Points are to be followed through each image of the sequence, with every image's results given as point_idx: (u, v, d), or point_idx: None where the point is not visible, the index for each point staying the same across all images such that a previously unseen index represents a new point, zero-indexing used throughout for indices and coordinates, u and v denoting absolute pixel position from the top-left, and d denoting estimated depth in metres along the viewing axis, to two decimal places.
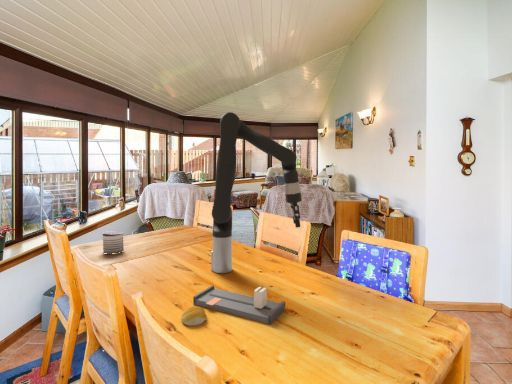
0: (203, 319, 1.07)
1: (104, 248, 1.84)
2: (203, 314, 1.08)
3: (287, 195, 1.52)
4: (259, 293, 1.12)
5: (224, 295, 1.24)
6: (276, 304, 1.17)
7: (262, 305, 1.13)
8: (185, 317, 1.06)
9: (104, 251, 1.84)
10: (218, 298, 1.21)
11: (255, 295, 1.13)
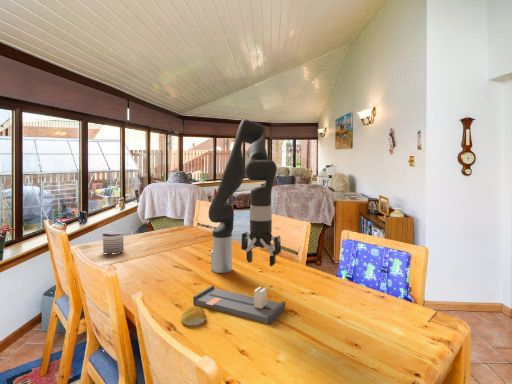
0: (203, 319, 1.07)
1: (104, 248, 1.84)
2: (203, 314, 1.08)
3: None
4: (259, 293, 1.12)
5: (224, 295, 1.24)
6: (276, 304, 1.17)
7: (262, 305, 1.13)
8: (185, 317, 1.06)
9: (104, 251, 1.84)
10: (218, 298, 1.21)
11: (255, 295, 1.13)
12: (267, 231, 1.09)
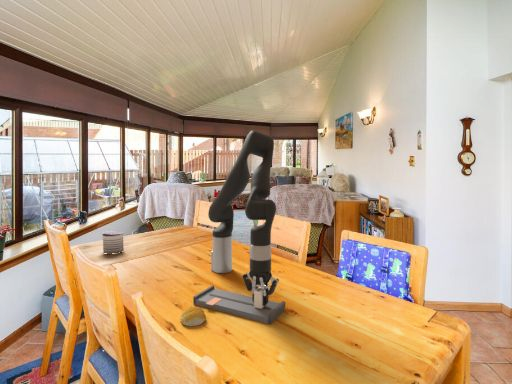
0: (202, 319, 1.07)
1: (104, 248, 1.84)
2: (202, 314, 1.08)
3: None
4: (259, 293, 1.12)
5: (224, 295, 1.24)
6: (276, 304, 1.17)
7: (262, 305, 1.13)
8: (184, 318, 1.06)
9: (104, 251, 1.84)
10: (218, 298, 1.21)
11: (255, 295, 1.13)
12: (267, 270, 1.10)
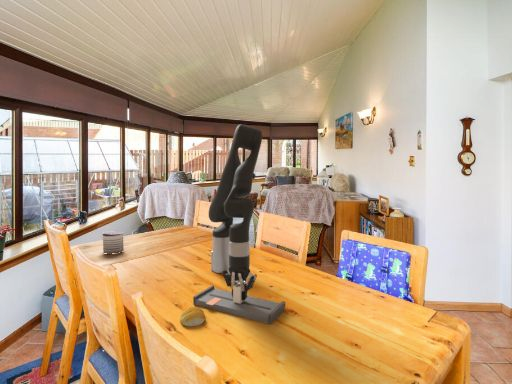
0: (202, 320, 1.06)
1: (104, 248, 1.84)
2: (202, 315, 1.07)
3: None
4: (238, 289, 1.16)
5: (224, 295, 1.24)
6: (276, 304, 1.17)
7: (241, 300, 1.17)
8: (184, 318, 1.06)
9: (104, 251, 1.84)
10: (218, 298, 1.21)
11: (234, 290, 1.17)
12: (245, 266, 1.14)
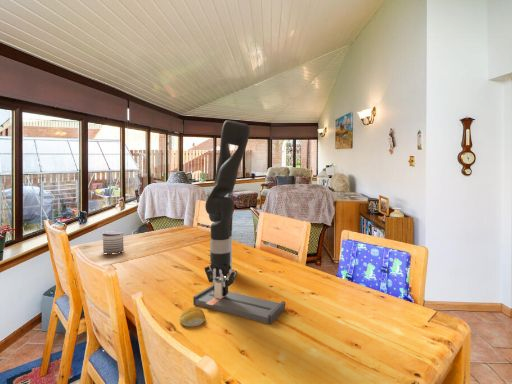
0: (202, 320, 1.06)
1: (104, 248, 1.84)
2: (202, 315, 1.07)
3: None
4: (219, 284, 1.20)
5: None
6: (276, 304, 1.17)
7: (222, 295, 1.21)
8: (184, 318, 1.05)
9: (104, 251, 1.84)
10: (218, 298, 1.21)
11: (215, 286, 1.21)
12: (225, 263, 1.18)
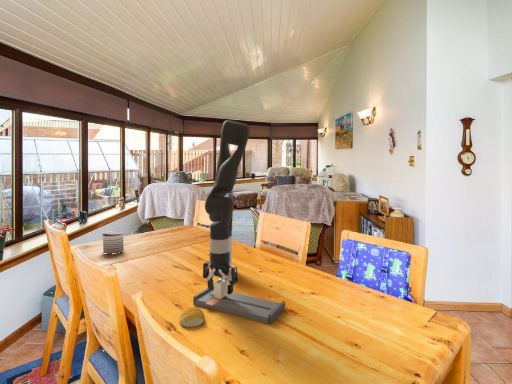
0: (201, 320, 1.06)
1: (104, 248, 1.84)
2: (201, 315, 1.07)
3: None
4: (218, 284, 1.20)
5: None
6: (276, 304, 1.17)
7: (221, 295, 1.21)
8: (183, 318, 1.05)
9: (104, 251, 1.84)
10: (218, 298, 1.21)
11: (215, 286, 1.21)
12: (225, 262, 1.18)
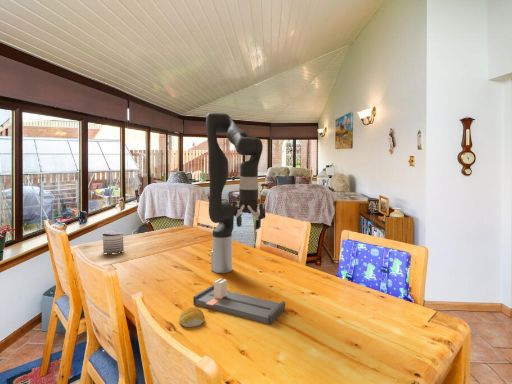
0: (201, 320, 1.06)
1: (104, 248, 1.84)
2: (201, 315, 1.07)
3: None
4: (218, 284, 1.20)
5: None
6: (276, 304, 1.17)
7: (221, 295, 1.21)
8: (183, 318, 1.05)
9: (104, 251, 1.84)
10: (218, 298, 1.21)
11: (215, 286, 1.21)
12: (253, 198, 1.27)
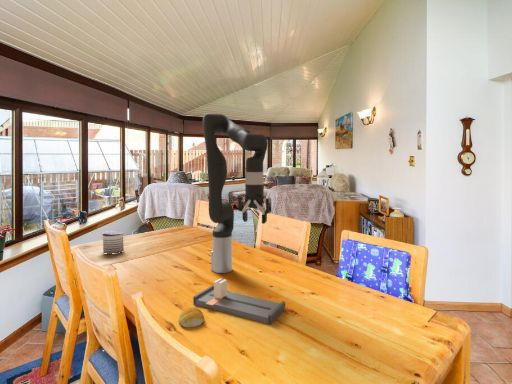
0: (201, 320, 1.06)
1: (104, 248, 1.84)
2: (201, 315, 1.07)
3: None
4: (218, 284, 1.20)
5: None
6: (276, 304, 1.17)
7: (221, 295, 1.21)
8: (183, 319, 1.05)
9: (104, 251, 1.84)
10: (218, 298, 1.21)
11: (215, 286, 1.21)
12: (259, 193, 1.29)
